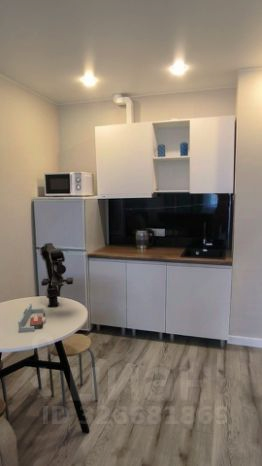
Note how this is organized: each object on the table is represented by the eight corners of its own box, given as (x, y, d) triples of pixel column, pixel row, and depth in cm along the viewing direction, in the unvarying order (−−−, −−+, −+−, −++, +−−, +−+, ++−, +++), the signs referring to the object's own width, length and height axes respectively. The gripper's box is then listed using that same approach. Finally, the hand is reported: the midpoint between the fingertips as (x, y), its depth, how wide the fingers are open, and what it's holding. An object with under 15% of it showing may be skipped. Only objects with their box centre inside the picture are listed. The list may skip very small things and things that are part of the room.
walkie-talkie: (45, 329, 177) (46, 315, 196) (45, 321, 176) (45, 308, 195) (29, 331, 175) (31, 317, 194) (28, 324, 174) (30, 310, 193)
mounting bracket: (30, 312, 199) (29, 302, 198) (43, 312, 200) (42, 301, 199) (19, 332, 173) (18, 320, 172) (34, 331, 174) (33, 319, 173)
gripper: (38, 274, 184) (40, 300, 187) (71, 273, 186) (72, 298, 188) (42, 269, 195) (44, 293, 198) (72, 268, 197) (74, 292, 199)
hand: (58, 294), depth 196 cm, fingers closed
